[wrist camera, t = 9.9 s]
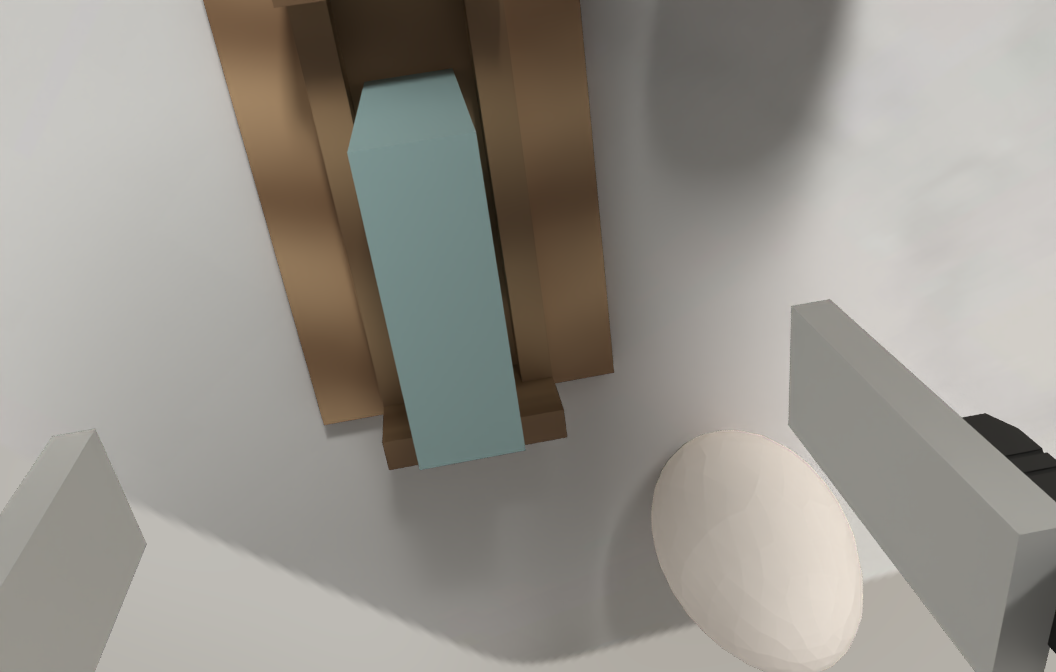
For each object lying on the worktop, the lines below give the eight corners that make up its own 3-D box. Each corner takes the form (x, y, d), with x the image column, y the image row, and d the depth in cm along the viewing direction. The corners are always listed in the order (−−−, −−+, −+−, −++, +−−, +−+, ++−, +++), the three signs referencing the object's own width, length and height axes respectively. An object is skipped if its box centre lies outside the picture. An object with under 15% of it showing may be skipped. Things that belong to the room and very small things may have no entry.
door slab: (364, 82, 28) (346, 152, 19) (452, 68, 28) (475, 132, 19) (414, 319, 32) (419, 470, 23) (491, 306, 32) (525, 450, 23)
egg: (606, 514, 39) (681, 730, 28) (653, 377, 36) (757, 562, 25) (748, 531, 40) (869, 741, 30) (805, 401, 37) (961, 584, 27)
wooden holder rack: (201, -33, 27) (161, -25, 22) (566, -85, 27) (598, -88, 23) (326, 412, 34) (314, 483, 30) (608, 361, 35) (638, 424, 31)
